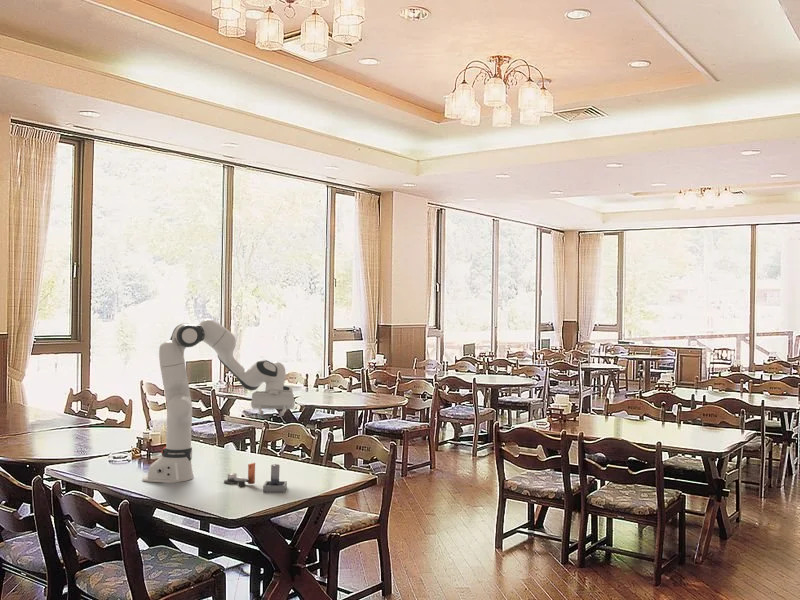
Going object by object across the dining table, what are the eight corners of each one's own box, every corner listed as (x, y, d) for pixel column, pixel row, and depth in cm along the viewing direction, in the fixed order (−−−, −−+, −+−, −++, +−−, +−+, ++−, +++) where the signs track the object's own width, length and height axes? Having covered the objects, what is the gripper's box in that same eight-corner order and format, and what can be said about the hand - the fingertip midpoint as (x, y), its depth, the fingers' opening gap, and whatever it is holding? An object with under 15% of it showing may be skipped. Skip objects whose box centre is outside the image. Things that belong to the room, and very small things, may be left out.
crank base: (222, 484, 341) (222, 482, 341) (225, 480, 348) (225, 478, 348) (238, 484, 341) (238, 482, 341) (240, 480, 348) (241, 479, 348)
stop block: (238, 486, 338) (238, 480, 338) (242, 485, 339) (242, 480, 339) (240, 486, 337) (241, 481, 337) (244, 486, 338) (244, 480, 338)
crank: (225, 480, 344) (226, 461, 344) (231, 478, 348) (231, 459, 348) (251, 484, 337) (251, 464, 337) (256, 482, 341) (257, 463, 341)
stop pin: (269, 489, 330) (269, 466, 330) (270, 486, 334) (270, 464, 335) (279, 489, 330) (279, 466, 330) (280, 487, 335) (281, 464, 335)
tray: (263, 492, 328) (263, 485, 328) (265, 487, 337) (265, 481, 337) (284, 492, 328) (284, 486, 328) (286, 487, 337) (286, 481, 337)
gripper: (252, 387, 363) (248, 410, 353) (295, 387, 364) (292, 411, 354) (253, 395, 367) (249, 418, 357) (295, 396, 368) (293, 419, 358)
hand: (271, 414), depth 356 cm, fingers open, 8 cm apart
